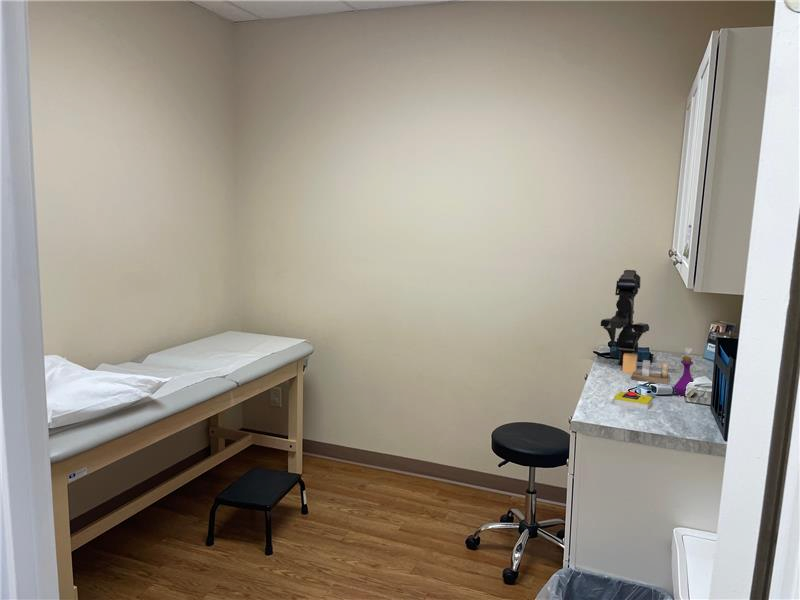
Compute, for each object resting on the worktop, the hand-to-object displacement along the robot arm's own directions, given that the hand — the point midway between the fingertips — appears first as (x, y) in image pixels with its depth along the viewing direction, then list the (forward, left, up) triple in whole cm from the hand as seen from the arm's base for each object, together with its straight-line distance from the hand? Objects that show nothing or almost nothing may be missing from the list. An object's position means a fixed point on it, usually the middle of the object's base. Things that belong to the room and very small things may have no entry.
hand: (623, 345), depth 239 cm
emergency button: (+41, +8, -14) cm, 44 cm away
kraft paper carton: (-10, +2, -13) cm, 16 cm away
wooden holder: (-1, +11, -13) cm, 17 cm away
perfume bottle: (+19, +24, -13) cm, 34 cm away
